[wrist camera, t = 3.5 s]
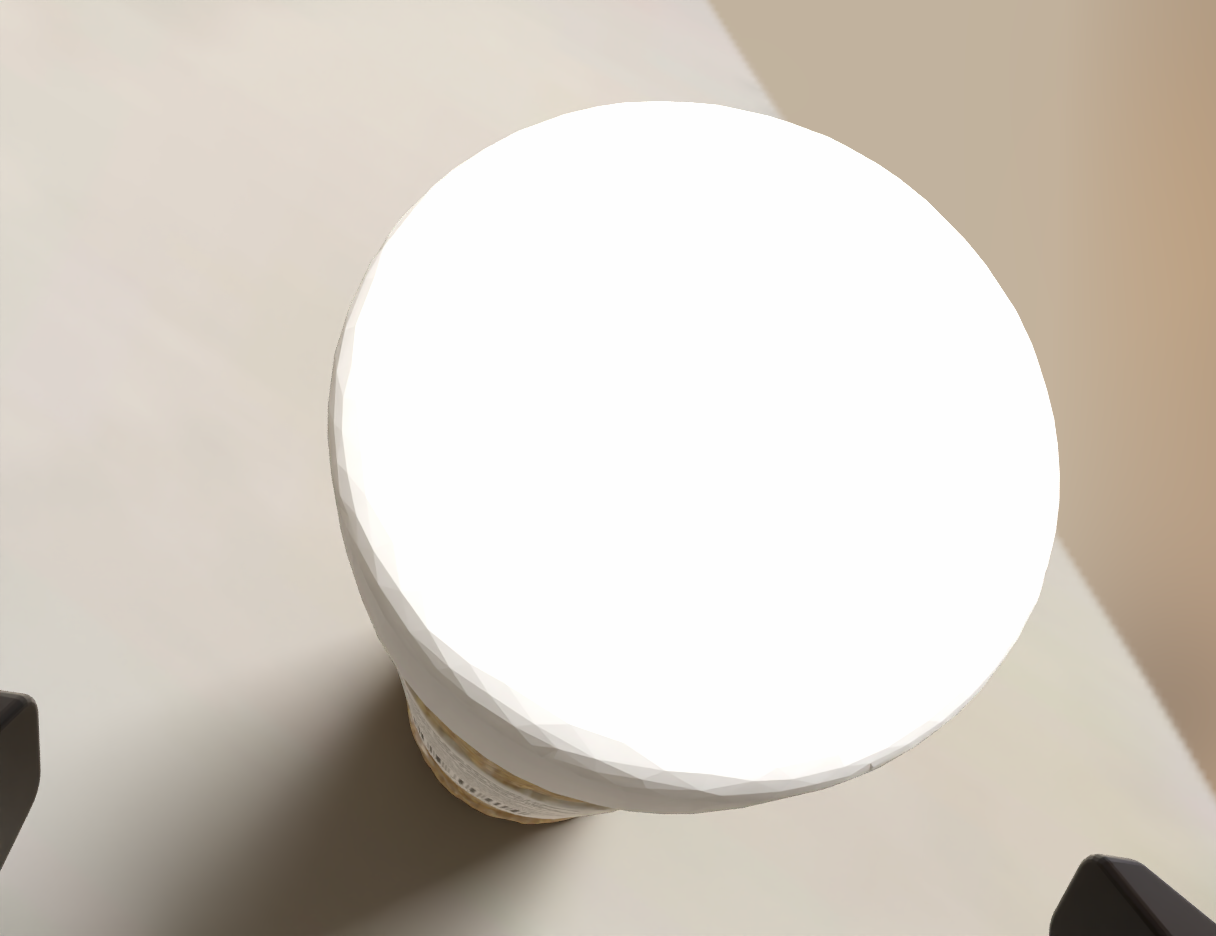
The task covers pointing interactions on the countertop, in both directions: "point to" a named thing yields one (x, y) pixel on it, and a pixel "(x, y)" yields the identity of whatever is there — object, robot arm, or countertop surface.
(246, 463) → the countertop surface
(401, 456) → the sprinkles bottle
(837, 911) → the countertop surface
